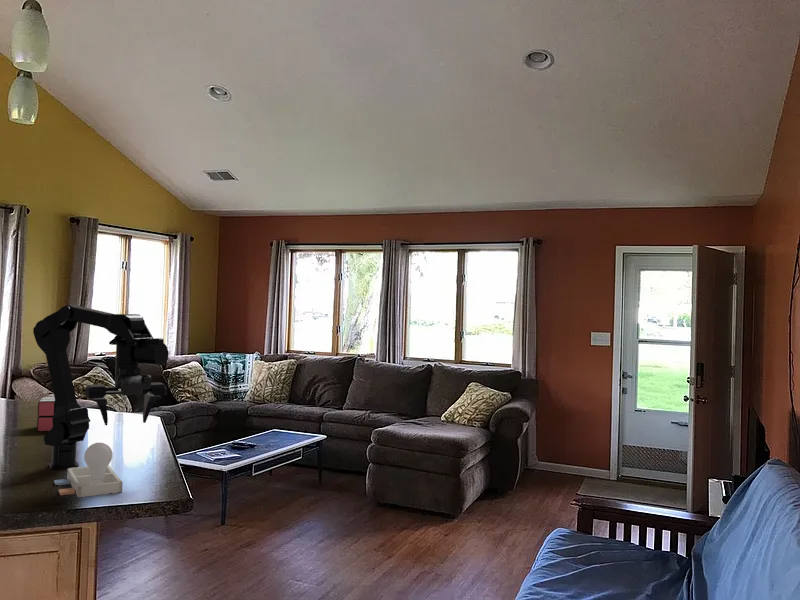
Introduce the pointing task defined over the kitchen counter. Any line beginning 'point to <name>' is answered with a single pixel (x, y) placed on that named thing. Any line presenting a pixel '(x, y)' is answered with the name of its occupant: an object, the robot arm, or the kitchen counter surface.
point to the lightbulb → (98, 461)
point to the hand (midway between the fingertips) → (125, 423)
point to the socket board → (89, 483)
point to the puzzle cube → (46, 413)
